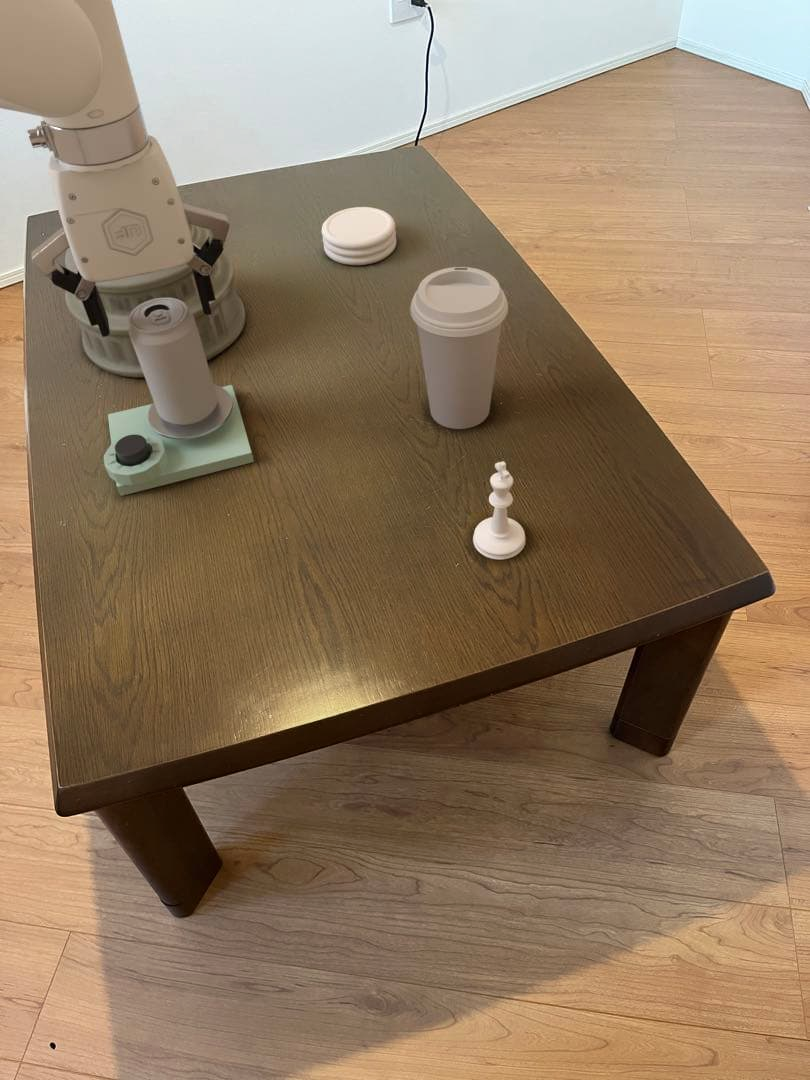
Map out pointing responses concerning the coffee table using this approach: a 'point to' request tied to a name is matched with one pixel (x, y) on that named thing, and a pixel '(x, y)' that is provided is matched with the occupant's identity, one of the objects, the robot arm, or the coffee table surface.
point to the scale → (175, 450)
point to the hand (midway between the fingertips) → (156, 318)
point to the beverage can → (173, 360)
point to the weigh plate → (197, 429)
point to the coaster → (359, 236)
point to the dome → (172, 283)
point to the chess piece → (499, 521)
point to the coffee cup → (459, 342)
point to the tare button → (132, 450)
